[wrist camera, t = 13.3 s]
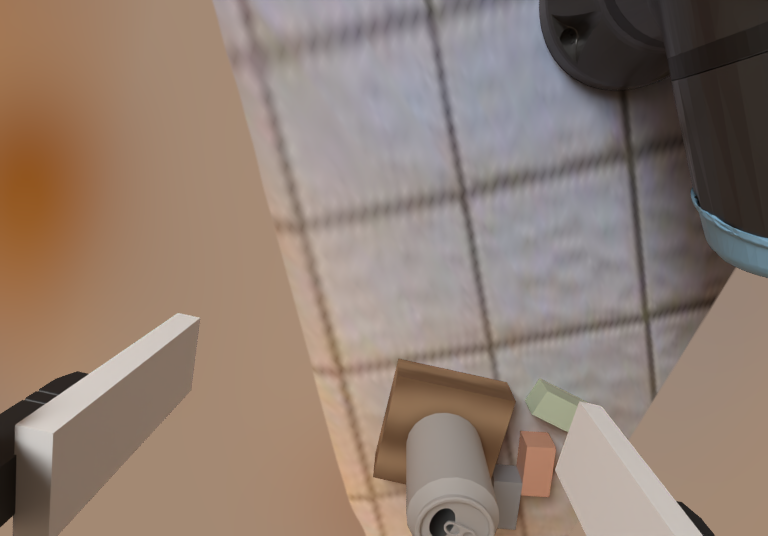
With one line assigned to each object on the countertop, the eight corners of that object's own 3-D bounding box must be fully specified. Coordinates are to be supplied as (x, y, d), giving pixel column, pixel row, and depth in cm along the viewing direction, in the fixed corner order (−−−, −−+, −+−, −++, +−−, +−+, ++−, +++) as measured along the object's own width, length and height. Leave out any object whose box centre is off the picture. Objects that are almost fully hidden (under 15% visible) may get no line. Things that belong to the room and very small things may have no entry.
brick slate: (489, 462, 52) (494, 481, 49) (516, 464, 52) (522, 483, 49) (483, 507, 54) (488, 527, 51) (509, 509, 54) (515, 529, 51)
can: (422, 397, 46) (428, 479, 34) (491, 423, 46) (520, 513, 35) (395, 457, 48) (391, 554, 36) (461, 482, 48) (479, 586, 36)
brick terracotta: (520, 430, 51) (527, 446, 48) (547, 431, 51) (556, 448, 48) (514, 476, 52) (521, 495, 50) (541, 478, 52) (549, 497, 49)
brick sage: (524, 399, 50) (531, 414, 47) (539, 377, 49) (547, 391, 47) (571, 422, 51) (581, 439, 48) (586, 401, 50) (598, 416, 47)
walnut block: (398, 358, 49) (397, 375, 46) (507, 382, 50) (515, 401, 46) (375, 453, 52) (373, 477, 48) (478, 475, 52) (483, 501, 49)
